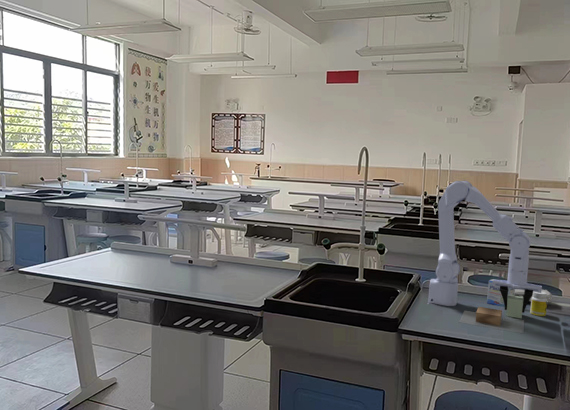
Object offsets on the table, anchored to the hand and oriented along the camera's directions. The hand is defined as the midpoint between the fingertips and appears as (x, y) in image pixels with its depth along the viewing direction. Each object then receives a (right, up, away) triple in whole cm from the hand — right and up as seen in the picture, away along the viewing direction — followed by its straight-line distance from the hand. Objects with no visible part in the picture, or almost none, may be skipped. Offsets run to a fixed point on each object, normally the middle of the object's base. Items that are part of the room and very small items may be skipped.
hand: (514, 310), depth 162 cm
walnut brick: (-11, -2, -7) cm, 13 cm away
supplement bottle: (+9, -3, +2) cm, 10 cm away
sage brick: (0, -2, 0) cm, 2 cm away
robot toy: (+15, -2, +21) cm, 26 cm away
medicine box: (+2, -2, +15) cm, 15 cm away
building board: (-10, -3, -7) cm, 13 cm away
